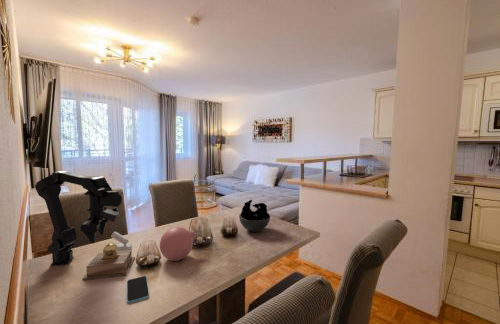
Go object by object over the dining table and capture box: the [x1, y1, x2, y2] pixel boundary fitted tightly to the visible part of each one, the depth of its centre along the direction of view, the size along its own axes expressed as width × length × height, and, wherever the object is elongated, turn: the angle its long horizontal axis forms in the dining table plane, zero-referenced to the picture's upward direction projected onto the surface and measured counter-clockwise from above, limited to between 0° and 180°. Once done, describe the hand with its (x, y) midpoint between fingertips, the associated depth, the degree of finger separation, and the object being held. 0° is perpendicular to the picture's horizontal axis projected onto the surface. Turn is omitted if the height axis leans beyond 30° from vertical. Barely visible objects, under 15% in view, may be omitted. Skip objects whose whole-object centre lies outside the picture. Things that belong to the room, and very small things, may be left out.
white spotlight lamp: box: [110, 231, 133, 251], centre depth 119 cm, size 9×10×10 cm
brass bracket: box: [102, 242, 118, 260], centre depth 101 cm, size 2×5×10 cm, turn 103°
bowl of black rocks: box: [238, 199, 271, 233], centre depth 147 cm, size 20×20×19 cm
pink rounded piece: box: [159, 226, 201, 262], centre depth 112 cm, size 15×20×15 cm
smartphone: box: [126, 275, 150, 304], centre depth 88 cm, size 7×1×15 cm
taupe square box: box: [82, 249, 136, 281], centre depth 102 cm, size 15×16×5 cm
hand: (97, 238), depth 103 cm, fingers open, 9 cm apart
